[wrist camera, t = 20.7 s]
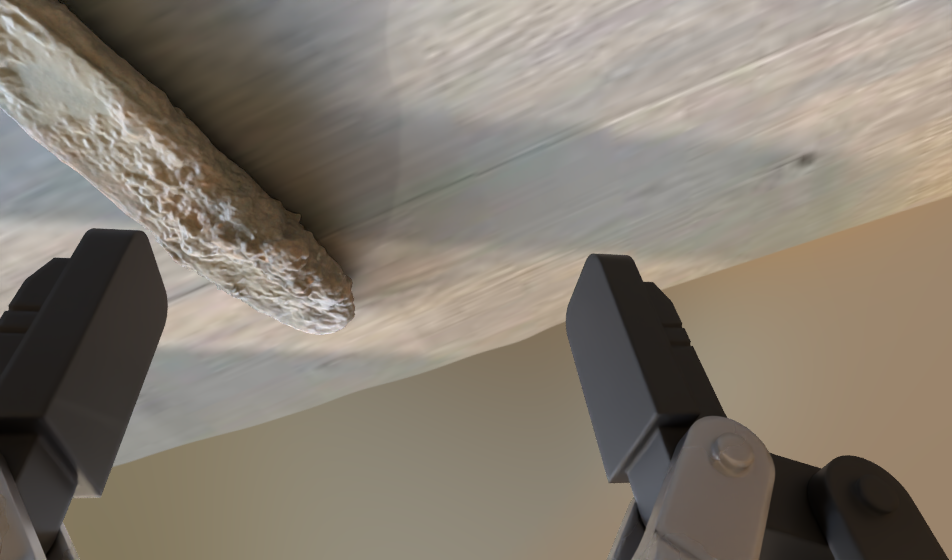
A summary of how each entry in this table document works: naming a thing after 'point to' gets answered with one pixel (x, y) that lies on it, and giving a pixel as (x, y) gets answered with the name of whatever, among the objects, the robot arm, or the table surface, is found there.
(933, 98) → the table surface
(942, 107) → the table surface
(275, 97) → the table surface
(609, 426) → the robot arm
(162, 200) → the long grey stone
